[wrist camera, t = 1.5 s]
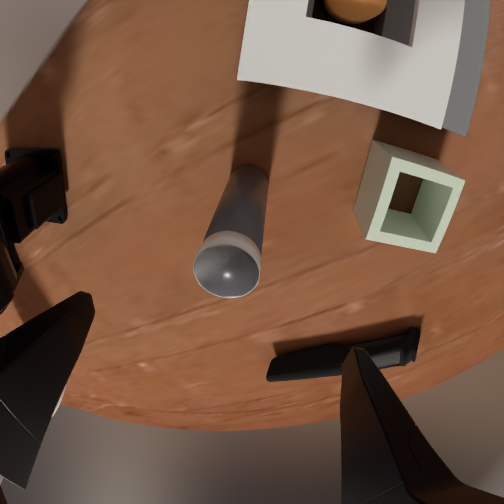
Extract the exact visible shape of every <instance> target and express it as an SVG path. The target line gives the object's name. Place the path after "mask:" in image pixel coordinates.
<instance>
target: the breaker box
mask: <svg viewBox="0 0 504 504" xmlns="http://www.w3.org/2000/svg"><path fill="white" fill-rule="evenodd" d="M314 1H315V0H249V5H248V11H247V17H246V23H245V30H244V36H243V42H242V49H241V56H240V62H239V69H238V76H237V80H243V81H251V82H258V83H265V84H271V85H278V86H283V87H289V88H295V89H300V90H305V91H310V92H315V93H319V94H324V95H328V96H333V97H337V98H341V99H345V100H349V101H353V102H357V103H360V104H364V105H368V106H371V107H375V108H378V109H382V110H385V111H388V112H391V113H395V114H398V115H401V116H404V117H407V118H410V119H413V120H416V121H418V122H421V123H424V124H427V125H429V126H432V127H435V128H437V129H440V130H441V128H444V129H447V130H449V131H452V132H454V133H457V134H459V135H461V136H464V137H466V135H467V131H468V128H469V124H470V120H471V116H472V112H473V108H474V104H475V100H476V95H477V91H478V86H479V81H480V76H481V70H482V65H483V59H484V53H485V46H486V39H487V31H488V21H489V10H490V0H387V4H386V7H385V9H384V10H383V11H382V13H380V14H379V15H377V16H376V20H375V27H374V32H373V34H372V33H369V32H366V31H362V30H359V29H355V28H352V27H348V26H344V25H340V24H336V23H332V22H328V21H324V20H319V19H314V18H312V13H313V7H314Z"/></svg>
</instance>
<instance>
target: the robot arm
mask: <svg viewBox="0 0 504 504" xmlns="http://www.w3.org/2000/svg"><path fill="white" fill-rule="evenodd" d="M9 153H10V154H9ZM53 153H54V154H55V157H54V156H53ZM5 161H6V165H4V166H2V167H1V168H0V314H2V313H3V312H4V310H5V309H6V308H7V306H8V305H9V303H10V302H11V300H12V299H13V297H14V290H15V288H16V286H17V284H18V281H19V279H20V277H21V275H22V273H23V271H24V267H23V264H22V262H20V259H19V257H18V254H17V251H16V248H15V245H14V244H15V243H21V242H22V241H23V240H24V239H25V238H26V237H27V236H28V235H29V234H30V233H31V232H33V231H34V230H35V229H38V228H39V227H40V226H41V225H42V224H44V223H45V222H46V221H48V222H54V223H60V224H63V223H64V222H65V221H66V220H67V213H66V206H65V198H64V190H63V180H62V170H61V158H60V152H59V150H58V149H56V148H9V149H7V150H6V151H5ZM61 217H62V218H61ZM94 315H95V308H94V304H93V300H92V296H91V294H89V293H87V292H83V291H79V292H77V293H76V294H74V295H72V296H70V297H69V298H67V299H65V300H63V301H62V302H60V303H58V304H56V305H55V306H53V307H51V308H50V309H48V310H46V311H45V312H43V313H41V314H39V315H38V316H36V317H34V318H33V319H31V320H29V321H28V322H26V323H24V324H23V325H21V326H19V327H18V328H16V329H14V330H13V331H11V332H10V333H8V334H6V336H3V337H1V338H0V484H1V482H2V479H3V477H4V478H5V479H7V480H9V481H10V482H12V483H14V484H15V485H17V486H19V487H20V488H22V489H24V490H25V488H26V486H27V483H28V480H29V477H30V474H31V471H32V468H33V465H34V462H35V460H36V457H37V454H38V451H39V449H40V446H41V443H42V440H43V438H44V435H45V433H46V430H47V427H48V425H49V422H50V420H51V418H52V415H53V413H54V410H55V408H56V406H57V403H58V401H59V399H60V396H61V394H62V392H63V390H64V387H65V385H66V383H67V381H68V378H69V376H70V374H71V372H72V370H73V368H74V366H75V363H76V361H77V359H78V357H79V355H80V353H81V351H82V348H83V345H84V343H85V340H86V337H87V334H88V332H89V329H90V326H91V324H92V321H93V319H94ZM340 419H341V420H340V421H341V477H342V478H341V504H504V498H503V497H500V496H497V495H494V494H491V493H488V492H485V491H482V490H479V489H477V488H474V487H471V486H468V485H466V484H464V483H463V482H461V481H460V480H459V479H457V478H456V477H455V476H454V474H453V473H452V472H451V471H450V469H449V468H448V467H447V466H446V465H445V463H444V462H443V461H442V459H441V458H440V457H439V456H438V454H437V453H436V452H435V451H434V449H433V448H432V447H431V445H430V444H429V443H428V441H427V440H426V438H425V437H424V435H423V434H422V433H421V431H420V430H419V428H418V426H417V425H415V422H414V421H413V419H412V417H411V416H410V415H409V413H408V411H407V410H406V409H405V407H404V405H403V404H402V402H401V401H400V399H399V398H398V396H397V395H396V394H395V392H394V391H393V389H392V388H391V386H390V385H389V383H388V382H387V380H386V379H385V377H384V376H383V374H382V373H381V371H380V370H379V369H378V367H377V366H376V364H375V363H374V361H373V360H372V358H371V357H370V356H369V354H368V353H367V351H366V350H365V349H363V348H357V347H354V348H352V349H351V351H350V352H349V354H348V356H347V358H346V359H345V361H344V363H343V368H342V385H341V399H340ZM0 504H7V502H6V499H5V497H4V494H3V491H2V488H1V485H0Z"/></svg>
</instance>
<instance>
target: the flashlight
mask: <svg viewBox="0 0 504 504" xmlns="http://www.w3.org/2000/svg"><path fill="white" fill-rule="evenodd" d="M267 193H268V178H267V175H266V174H265V172H264V171H263V170H262V169H261V168H259V167H258V166H255V165H251V164H246V165H242V166H239V167H238V168H236V169H235V170H234V171H233V172H232V174H231V176H230V178H229V181H228V183H227V185H226V188H225V190H224V192H223V195H222V197H221V199H220V202H219V204H218V206H217V209H216V211H215V214H214V216H213V218H212V221H211V223H210V226H209V228H208V231H207V233H206V236H205V238H204V240H203V243H202V245H201V247H200V249H199V252H198V254H197V257H196V259H195V262H194V274H195V277H196V279H197V281H198V282H199V284H200V285H201V286H202V287H203V288H204V289H205V290H207V291H208V292H210V293H212V294H214V295H216V296H219V297H224V298H236V297H241V296H244V295H246V294H248V293H249V292H251V291H252V290H253V289H254V288H255V287H256V285H257V283H258V281H259V277H260V267H261V253H262V243H263V233H264V223H265V213H266V203H267Z"/></svg>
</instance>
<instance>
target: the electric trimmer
mask: <svg viewBox="0 0 504 504" xmlns="http://www.w3.org/2000/svg"><path fill="white" fill-rule="evenodd" d="M419 339H420V328H418V329H415V328H414V327H411V328H410V330H409V332H408V333H407V334H404V335H400V336H396V337H391V338H386V339H382V340H377V341H372V342H367V343H362V344H357V345H351V346H346V347H344V346H341V345H338V344H335V343H334V344H329V345H325V346H321V347H317V348H312V349H308V350H304V351H300V352H296V353H292V354H287V355H283V356H279V357H275V358H273V359H272V361H271V363H270V366H269V368H268V372H267V376H266V379H267V381H269V382H275V381H288V380H299V379H309V378H318V377H328V376H337V375H342V368H343V363H344V361H345V359H346V358H347V356H348V354H349V352H350V351H351V349H352V348H354V347H357V348H363V349H365V350H366V351H367V353H368V354H369V356H370V357H371V358H372V360H373V361H374V363H375V364H376V366H377V367H378V369H383V368H389V367H394V366H406V364H408V363H409V362H410V361H413V362H415V359H416V354H417V349H418V345H419Z"/></svg>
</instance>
